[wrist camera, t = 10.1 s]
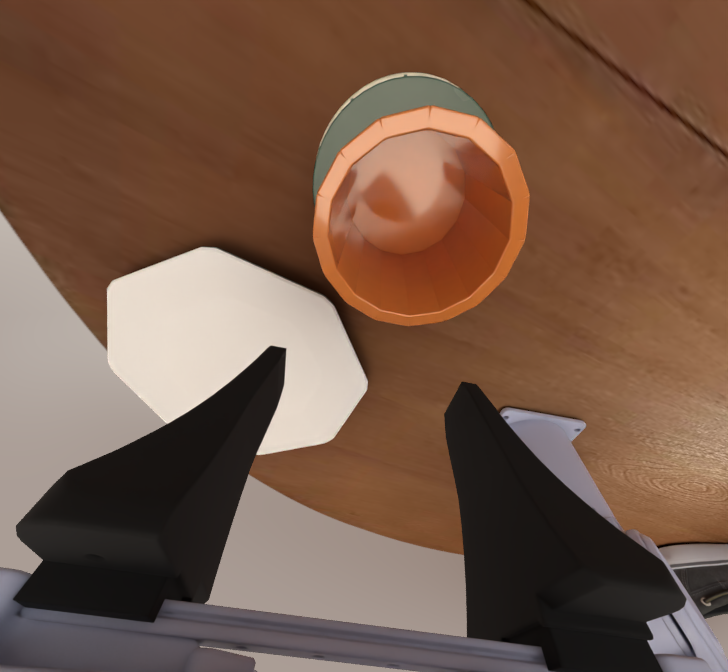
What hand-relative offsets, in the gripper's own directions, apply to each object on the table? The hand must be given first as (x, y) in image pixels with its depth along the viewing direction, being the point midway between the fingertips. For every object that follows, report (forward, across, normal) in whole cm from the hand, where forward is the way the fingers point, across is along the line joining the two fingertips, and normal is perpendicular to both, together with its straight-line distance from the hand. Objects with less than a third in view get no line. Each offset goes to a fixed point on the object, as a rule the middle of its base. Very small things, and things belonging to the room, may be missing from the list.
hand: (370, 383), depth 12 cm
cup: (+4, 0, -6) cm, 8 cm away
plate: (+10, +9, +10) cm, 17 cm away
